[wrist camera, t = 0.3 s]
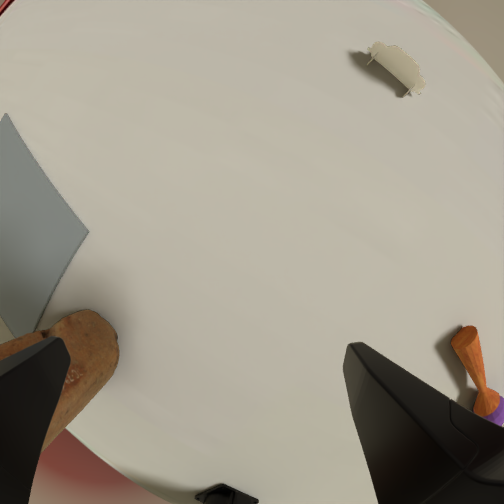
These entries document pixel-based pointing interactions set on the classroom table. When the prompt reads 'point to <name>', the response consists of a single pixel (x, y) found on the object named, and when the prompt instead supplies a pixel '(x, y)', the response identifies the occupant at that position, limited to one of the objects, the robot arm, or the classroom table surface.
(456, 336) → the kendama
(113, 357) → the block
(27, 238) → the mat
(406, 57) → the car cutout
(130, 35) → the classroom table surface
